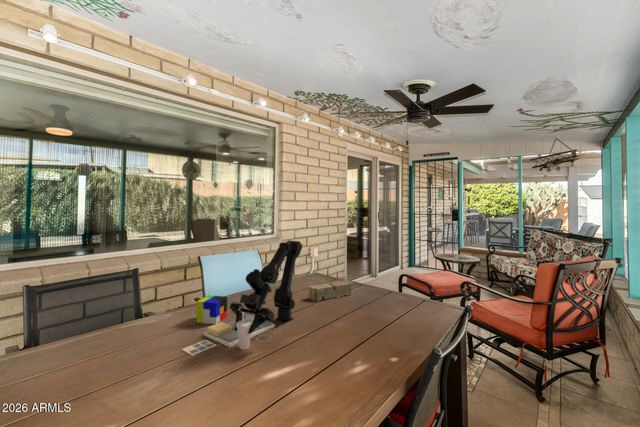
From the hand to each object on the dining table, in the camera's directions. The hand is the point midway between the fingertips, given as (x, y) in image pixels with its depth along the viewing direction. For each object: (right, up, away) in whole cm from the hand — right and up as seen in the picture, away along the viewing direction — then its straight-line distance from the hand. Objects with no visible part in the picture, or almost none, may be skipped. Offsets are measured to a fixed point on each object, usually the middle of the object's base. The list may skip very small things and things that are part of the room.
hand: (242, 332), depth 114 cm
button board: (-5, -6, +16) cm, 18 cm away
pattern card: (-17, -6, 0) cm, 18 cm away
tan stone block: (+37, -6, +70) cm, 80 cm away
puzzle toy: (-22, -6, +29) cm, 37 cm away
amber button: (-13, -5, +12) cm, 18 cm away
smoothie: (0, -7, +1) cm, 7 cm away
